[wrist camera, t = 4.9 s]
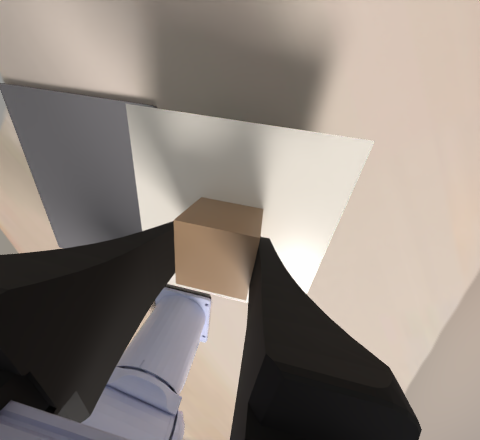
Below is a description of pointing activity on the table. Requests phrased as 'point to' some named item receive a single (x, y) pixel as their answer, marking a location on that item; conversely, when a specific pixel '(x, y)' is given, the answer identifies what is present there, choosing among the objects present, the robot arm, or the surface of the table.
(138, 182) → the lid
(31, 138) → the mat
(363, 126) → the table surface
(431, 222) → the table surface
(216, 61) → the table surface
